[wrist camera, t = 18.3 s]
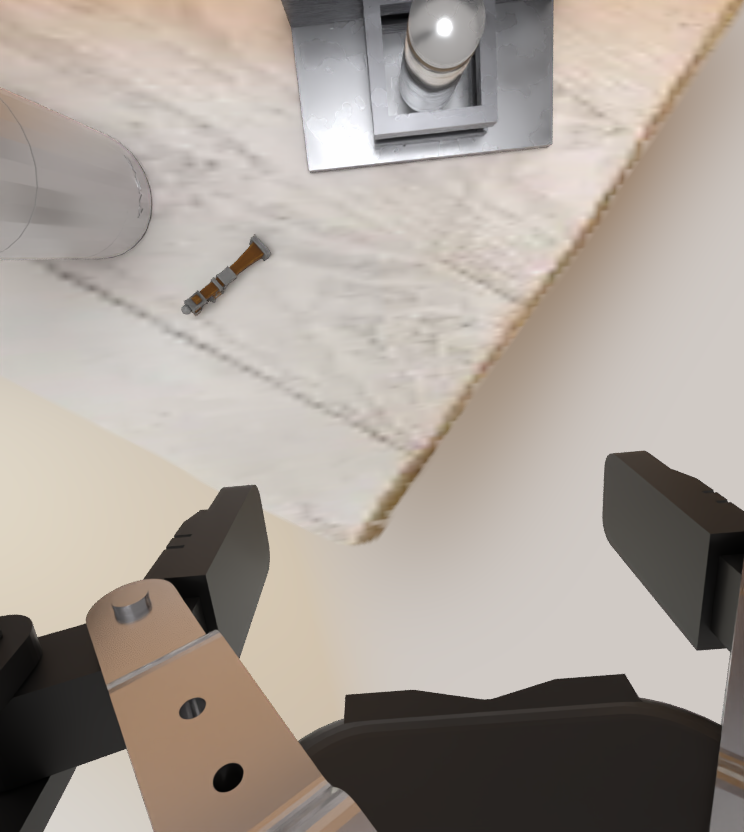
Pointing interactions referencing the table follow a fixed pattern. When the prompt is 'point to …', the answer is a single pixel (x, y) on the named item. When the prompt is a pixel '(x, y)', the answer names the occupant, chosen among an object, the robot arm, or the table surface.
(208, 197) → the table surface
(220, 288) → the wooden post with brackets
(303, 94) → the collar stand
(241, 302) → the table surface
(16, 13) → the table surface
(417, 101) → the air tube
